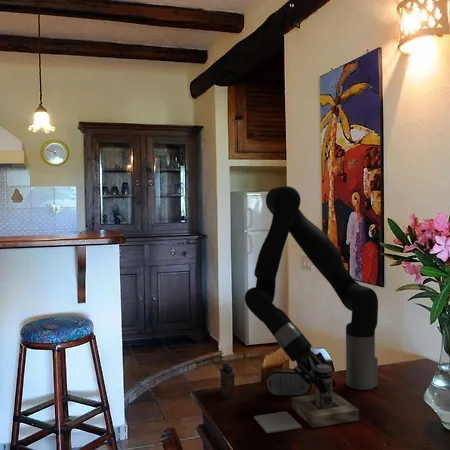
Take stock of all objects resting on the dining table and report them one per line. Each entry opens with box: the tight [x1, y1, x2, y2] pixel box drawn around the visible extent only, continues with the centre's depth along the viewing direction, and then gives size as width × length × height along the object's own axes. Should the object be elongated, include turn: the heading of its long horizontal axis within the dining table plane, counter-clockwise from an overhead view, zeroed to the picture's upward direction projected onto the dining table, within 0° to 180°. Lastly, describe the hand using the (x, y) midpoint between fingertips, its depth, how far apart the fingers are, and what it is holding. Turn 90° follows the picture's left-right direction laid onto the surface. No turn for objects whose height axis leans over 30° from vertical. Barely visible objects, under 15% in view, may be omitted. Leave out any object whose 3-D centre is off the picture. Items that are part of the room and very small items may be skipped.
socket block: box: [290, 391, 360, 429], centre depth 141 cm, size 14×14×3 cm
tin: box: [264, 367, 313, 397], centre depth 155 cm, size 15×3×8 cm, turn 84°
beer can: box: [314, 364, 333, 410], centre depth 140 cm, size 5×5×12 cm
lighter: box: [219, 361, 236, 400], centre depth 156 cm, size 8×3×10 cm, turn 23°
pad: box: [253, 410, 302, 434], centre depth 135 cm, size 10×10×1 cm
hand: (329, 389), depth 139 cm, fingers closed on beer can, 4 cm apart
